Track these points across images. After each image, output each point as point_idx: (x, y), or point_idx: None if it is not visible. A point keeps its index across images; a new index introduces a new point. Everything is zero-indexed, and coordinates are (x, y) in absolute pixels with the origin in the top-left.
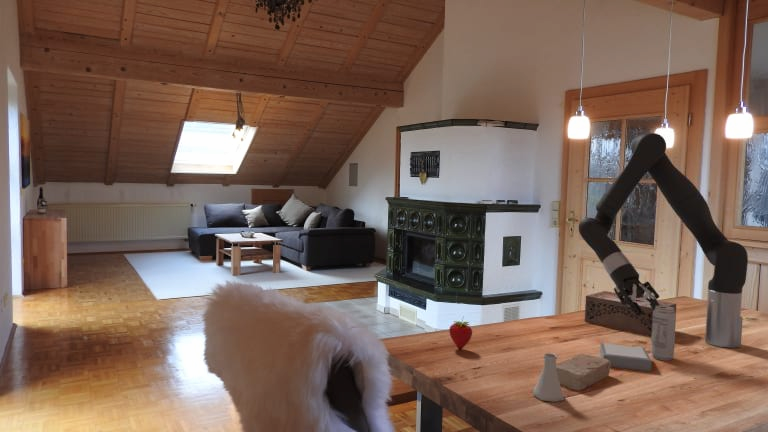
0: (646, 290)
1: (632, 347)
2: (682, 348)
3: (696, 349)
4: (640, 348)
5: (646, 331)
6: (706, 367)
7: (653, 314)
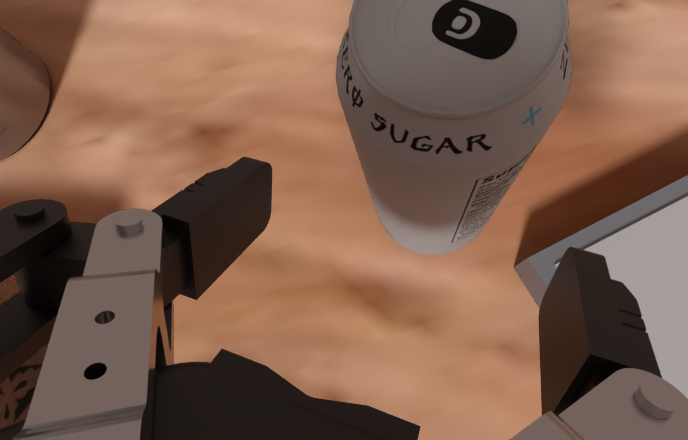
0: (121, 332)
1: None
2: None
3: (156, 146)
4: None
5: None
6: None
7: (529, 148)
